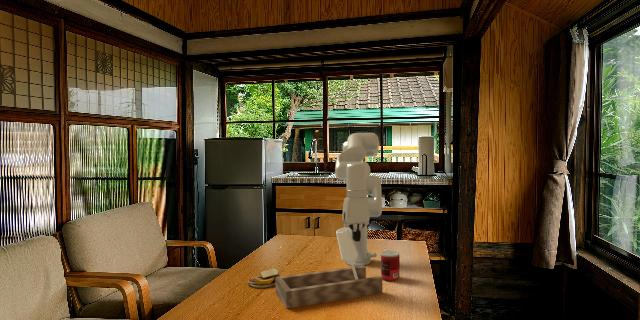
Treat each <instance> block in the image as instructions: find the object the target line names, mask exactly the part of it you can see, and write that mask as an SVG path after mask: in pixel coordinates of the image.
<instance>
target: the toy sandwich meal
mask: <svg viewBox="0 0 640 320" xmlns="http://www.w3.org/2000/svg"><path fill="white" fill-rule="evenodd" d="M279 273H280V272H279V270H278V269H277V268H271V269H268V270H267V269H266V270H263V271H260V276H259V275H257V276H255V277H251V278H249V279H248V281H247V284H248V285H249V286H250V287H252V288H256V289H265V288H271V287H273V286H276V284H275V277H281V275H280V274H279Z"/></svg>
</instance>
